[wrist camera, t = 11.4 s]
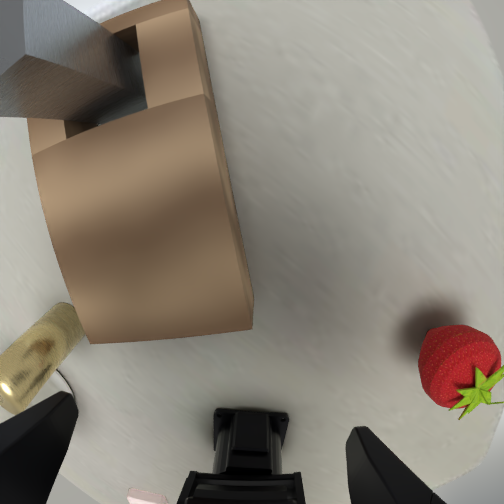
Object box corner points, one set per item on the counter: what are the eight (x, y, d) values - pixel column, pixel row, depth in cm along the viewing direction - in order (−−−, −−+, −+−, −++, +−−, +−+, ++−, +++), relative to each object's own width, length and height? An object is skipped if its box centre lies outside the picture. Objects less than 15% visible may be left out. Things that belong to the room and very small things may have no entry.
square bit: (158, 103, 17) (25, 54, 5) (110, 125, 18) (-41, 116, 6) (145, 56, 16) (23, -23, 4) (98, 79, 17) (-41, 39, 5)
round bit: (89, 343, 23) (30, 422, 13) (57, 335, 23) (-5, 404, 13) (82, 306, 22) (10, 381, 12) (48, 299, 22) (-25, 364, 12)
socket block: (253, 298, 21) (252, 329, 17) (112, 316, 22) (90, 344, 18) (199, 20, 15) (185, -7, 12) (56, 74, 16) (23, 65, 12)
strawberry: (424, 282, 20) (501, 358, 11) (475, 317, 21) (541, 384, 12) (379, 344, 22) (428, 439, 13) (435, 369, 23) (484, 446, 13)
